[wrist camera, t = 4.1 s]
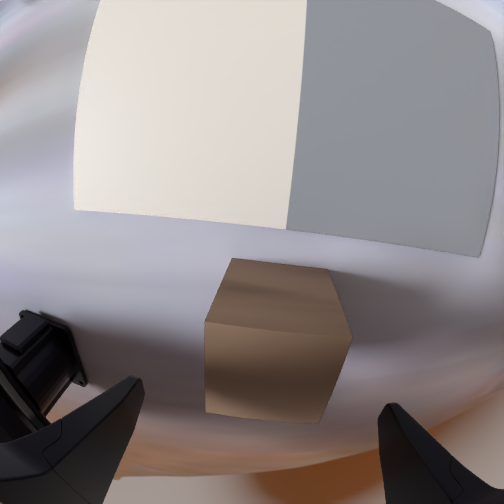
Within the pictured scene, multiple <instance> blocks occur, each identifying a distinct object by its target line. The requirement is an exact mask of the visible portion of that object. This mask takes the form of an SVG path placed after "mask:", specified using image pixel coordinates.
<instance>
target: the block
mask: <svg viewBox="0 0 504 504" xmlns="http://www.w3.org/2000/svg"><path fill="white" fill-rule="evenodd" d="M352 338H353V336H352V333H351V330H350V327H349V325H348V322H347V319H346V316H345V314H344V311H343V308H342V305H341V303H340V300H339V297H338V295H337V292H336V290H335V287H334V284H333V282H332V279H331V277H330V274H329V272H328V269H321V268H312V267H304V266H295V265H286V264H278V263H269V262H261V261H252V260H244V259H235V258H232V259H231V262H230V264H229V266H228V268H227V271H226V273H225V275H224V278H223V280H222V282H221V284H220V287H219V289H218V291H217V294H216V296H215V298H214V301H213V303H212V305H211V308H210V310H209V312H208V315H207V317H206V319H205V327H204V352H205V406H206V412H209V413H214V414H220V415H226V416H233V417H240V418H248V419H257V420H267V421H279V422H294V423H319V422H320V420H321V417H322V415H323V413H324V411H325V408H326V406H327V404H328V401H329V399H330V397H331V394H332V392H333V390H334V387H335V385H336V382H337V380H338V377H339V374H340V372H341V369H342V367H343V364H344V361H345V358H346V356H347V353H348V350H349V347H350V344H351V341H352Z"/></svg>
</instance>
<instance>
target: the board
mask: <svg viewBox="0 0 504 504" xmlns="http://www.w3.org/2000/svg"><path fill="white" fill-rule="evenodd" d="M498 144H499V91H498V78H497V68H496V60H495V53H494V46H493V41H492V35H491V32H490V31H489V30H487V29H486V28H484V27H483V26H481V25H479V24H478V23H476V22H475V21H473V20H471V19H469V18H468V17H466V16H464V15H462V14H461V13H459V12H457V11H455V10H453V9H451V8H449V7H447V6H445V5H443V4H441V3H439V2H437V1H435V0H101V1H100V4H99V7H98V10H97V13H96V16H95V20H94V23H93V27H92V31H91V35H90V39H89V43H88V47H87V52H86V56H85V61H84V66H83V72H82V78H81V84H80V90H79V98H78V106H77V115H76V126H75V141H74V210H86V211H100V212H114V213H126V214H139V215H150V216H162V217H173V218H184V219H194V220H204V221H214V222H224V223H233V224H242V225H251V226H260V227H269V228H277V229H286V230H294V231H302V232H310V233H318V234H326V235H333V236H341V237H348V238H355V239H362V240H370V241H377V242H383V243H390V244H397V245H404V246H410V247H417V248H423V249H429V250H435V251H442V252H448V253H454V254H459V255H465V256H471V257H477V258H479V255H480V252H481V248H482V244H483V241H484V237H485V232H486V228H487V224H488V219H489V214H490V209H491V204H492V198H493V192H494V185H495V177H496V169H497V158H498Z"/></svg>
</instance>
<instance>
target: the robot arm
mask: <svg viewBox="0 0 504 504" xmlns="http://www.w3.org/2000/svg"><path fill="white" fill-rule="evenodd" d="M19 316H20V320H19V321H18V322H17V323H16V324H14V325H13V326H12V327H11V328H10V329H8V330H7V331H6V332H5V333H4V334H3V335H1V337H0V341H1V342H0V504H102V503H103V501H104V499H105V496H106V494H107V492H108V489H109V486H110V484H111V482H112V480H113V477H114V475H115V473H116V470H117V468H118V466H119V463H120V461H121V459H122V457H123V454H124V452H125V450H126V447H127V445H128V443H129V441H130V438H131V436H132V434H133V431H134V429H135V426H136V423H137V419H138V416H139V413H140V409H141V406H142V403H143V400H144V396H145V392H144V388H143V383H142V380H141V378H139V377H135V376H129V377H127V378H126V379H124V380H122V381H121V382H119V383H118V384H116V385H115V386H113V387H111V388H110V389H108V390H107V391H105V392H103V393H102V394H100V395H99V396H97V397H95V398H94V399H92V400H90V401H89V402H87V403H86V404H84V405H82V406H81V407H79V408H77V409H76V410H74V411H72V412H71V413H69V414H67V415H66V416H64V417H62V419H59V420H57V421H55V422H54V423H52V424H51V423H50V422H49V421H48V420H47V419H46V416H47V414H48V413H49V412H50V410H51V409H52V407H53V406H54V405H55V403H56V402H57V401H58V399H59V398H60V397H61V395H62V394H63V393H64V391H65V390H66V389H67V388H68V386H69V385H70V384H71V382H73V383H75V384H78V385H80V386H82V387H85V386H86V385H87V383H88V382H87V379H86V377H85V374H84V371H83V368H82V366H81V363H80V360H79V357H78V354H77V351H76V347H75V344H74V341H73V338H72V334H71V331H70V330H69V328H67V327H66V326H63V325H61V324H58V323H55V322H52V321H50V320H47V319H44V318H42V317H39V316H37V315H34V314H32V313H29V312H27V311H25V310H22V311H21V312H20V313H19ZM378 436H379V454H380V462H381V468H382V475H383V482H384V490H385V499H386V504H504V489H497V488H494V487H491V486H490V485H488V484H487V483H485V482H484V481H482V480H481V479H480V478H479V477H477V476H476V475H475V474H473V473H472V472H471V471H469V470H468V469H467V468H465V467H464V466H463V465H462V464H461V463H460V462H459V461H458V460H456V459H455V458H454V457H453V456H451V454H450V453H449V452H448V451H447V450H446V449H445V448H444V447H443V446H442V445H441V444H439V443H438V442H437V441H436V440H435V439H434V438H433V437H432V436H431V435H430V434H429V433H428V432H427V431H426V430H425V429H424V428H423V427H422V426H421V425H420V424H419V423H418V422H417V421H415V420H414V419H413V418H412V417H411V416H410V415H409V414H408V413H407V412H406V411H405V410H404V409H403V408H402V407H401V406H400V405H399V404H398V403H388V404H386V405H385V407H384V408H383V410H382V412H381V413H380V415H379V417H378Z"/></svg>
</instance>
